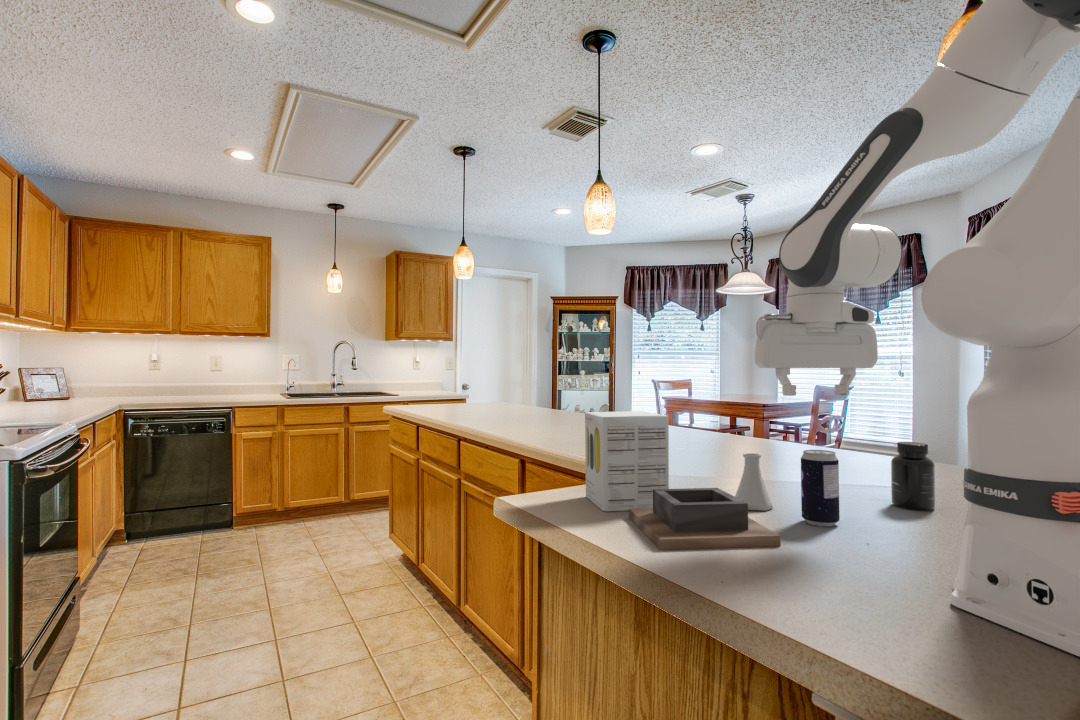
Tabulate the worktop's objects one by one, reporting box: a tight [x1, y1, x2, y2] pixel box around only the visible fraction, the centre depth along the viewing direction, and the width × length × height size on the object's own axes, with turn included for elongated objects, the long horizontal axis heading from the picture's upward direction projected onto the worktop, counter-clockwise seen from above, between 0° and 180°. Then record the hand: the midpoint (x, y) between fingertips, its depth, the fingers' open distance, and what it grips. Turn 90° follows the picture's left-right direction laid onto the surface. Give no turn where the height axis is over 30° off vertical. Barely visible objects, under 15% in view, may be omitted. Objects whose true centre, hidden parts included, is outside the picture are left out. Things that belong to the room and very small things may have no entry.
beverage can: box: [800, 449, 840, 527], centre depth 93 cm, size 6×6×12 cm
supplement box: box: [584, 410, 670, 512], centre depth 108 cm, size 13×13×18 cm
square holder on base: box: [628, 487, 782, 551], centre depth 89 cm, size 18×18×6 cm
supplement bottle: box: [890, 441, 936, 512], centre depth 104 cm, size 7×7×12 cm
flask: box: [734, 452, 774, 511], centre depth 104 cm, size 7×7×10 cm
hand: (815, 395), depth 93 cm, fingers open, 8 cm apart
